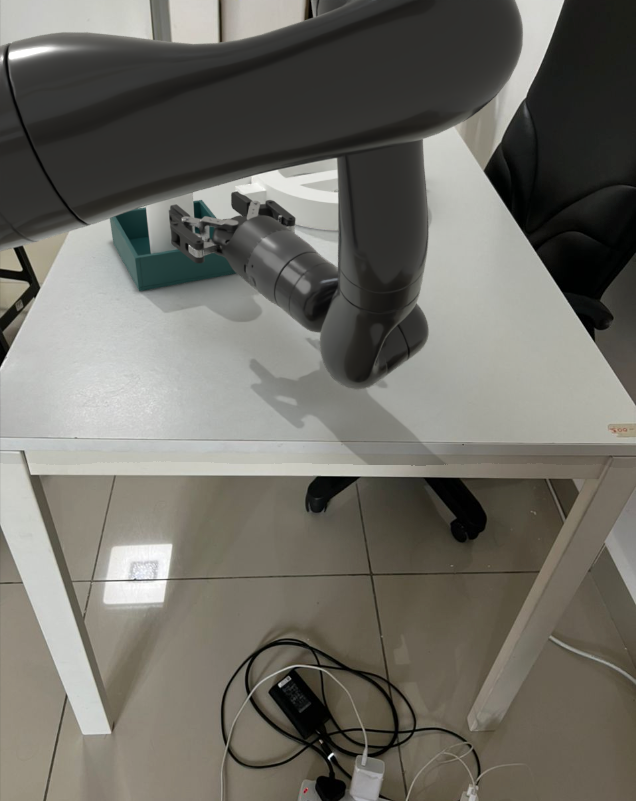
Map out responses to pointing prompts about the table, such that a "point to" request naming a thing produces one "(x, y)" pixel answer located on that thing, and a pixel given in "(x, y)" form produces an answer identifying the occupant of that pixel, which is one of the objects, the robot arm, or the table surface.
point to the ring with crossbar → (300, 192)
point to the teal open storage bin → (161, 253)
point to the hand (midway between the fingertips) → (203, 205)
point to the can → (165, 221)
